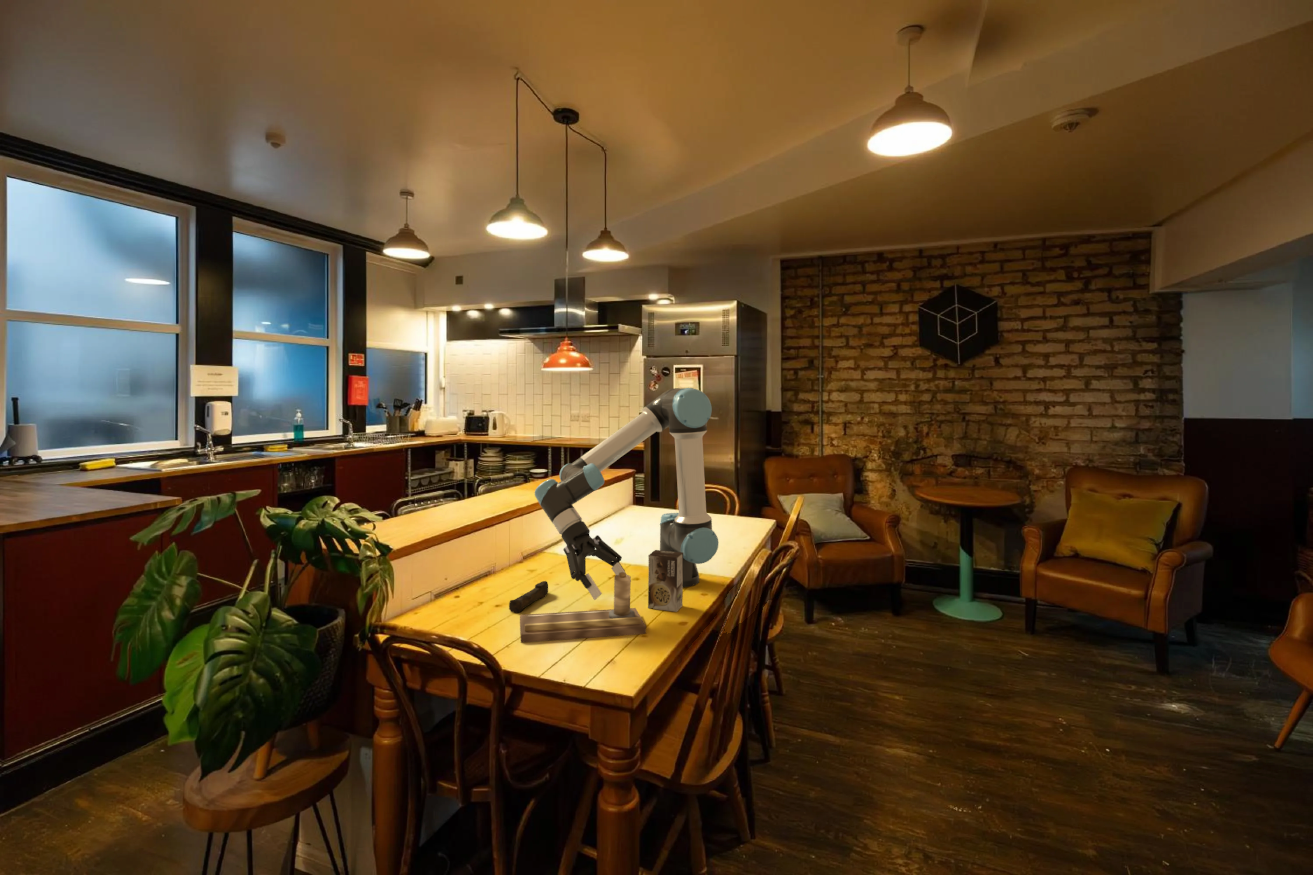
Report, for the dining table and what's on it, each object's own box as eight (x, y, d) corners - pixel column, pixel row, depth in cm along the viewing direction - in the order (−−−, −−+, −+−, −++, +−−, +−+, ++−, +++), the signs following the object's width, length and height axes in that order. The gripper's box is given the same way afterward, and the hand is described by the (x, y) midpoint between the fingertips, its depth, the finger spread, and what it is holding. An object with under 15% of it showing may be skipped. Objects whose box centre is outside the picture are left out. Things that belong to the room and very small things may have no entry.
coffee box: (683, 605, 184) (684, 552, 183) (676, 612, 178) (678, 557, 177) (654, 601, 187) (655, 548, 186) (646, 608, 181) (648, 554, 180)
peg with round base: (631, 611, 173) (632, 568, 172) (637, 620, 166) (637, 576, 165) (607, 612, 171) (607, 570, 170) (611, 621, 164) (611, 577, 163)
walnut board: (635, 614, 175) (635, 602, 175) (645, 633, 162) (646, 620, 162) (519, 621, 168) (519, 609, 168) (520, 642, 154) (520, 628, 154)
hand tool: (520, 614, 174) (520, 598, 174) (508, 612, 176) (508, 596, 176) (555, 595, 192) (555, 580, 192) (544, 593, 193) (544, 578, 193)
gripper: (591, 528, 187) (631, 586, 180) (533, 544, 166) (576, 610, 159) (606, 513, 184) (646, 571, 177) (549, 527, 163) (593, 594, 156)
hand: (613, 590), depth 168 cm, fingers open, 13 cm apart
